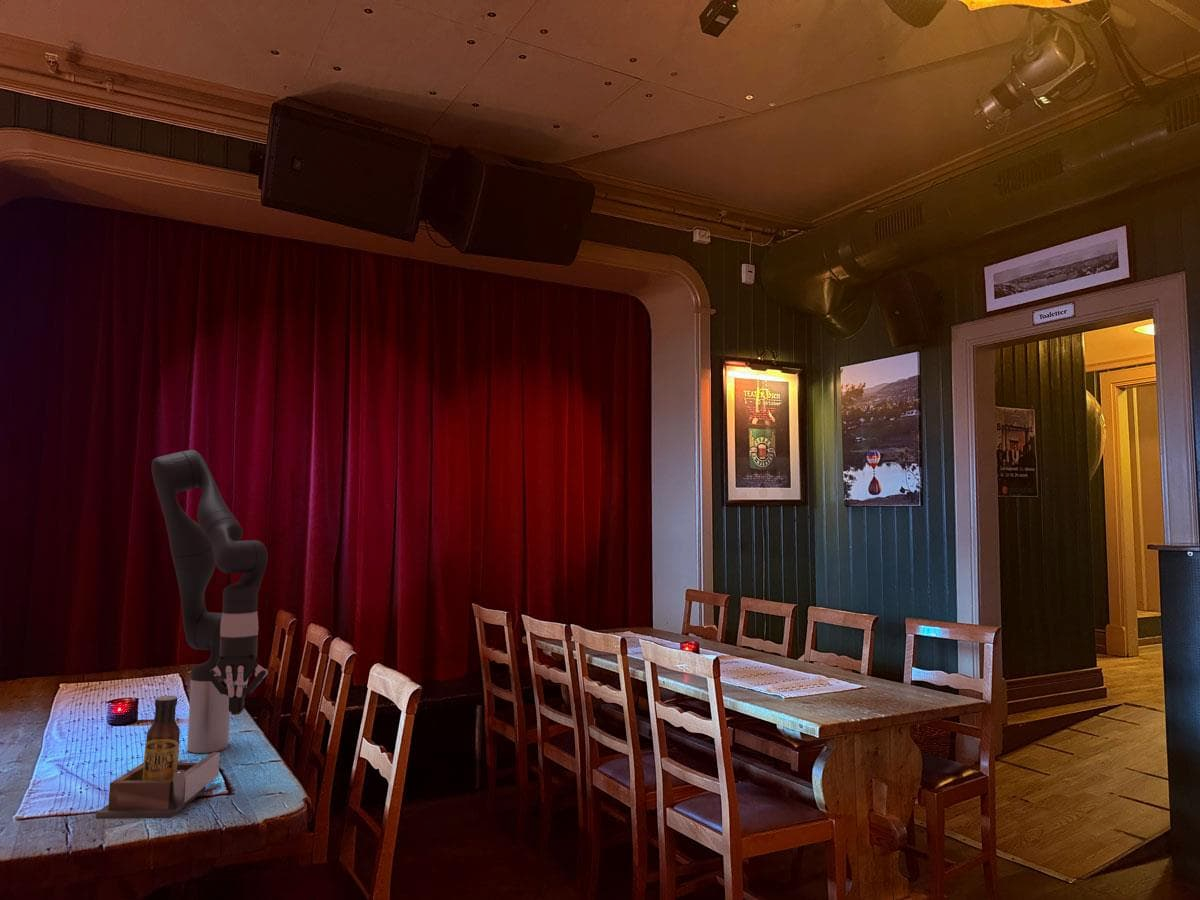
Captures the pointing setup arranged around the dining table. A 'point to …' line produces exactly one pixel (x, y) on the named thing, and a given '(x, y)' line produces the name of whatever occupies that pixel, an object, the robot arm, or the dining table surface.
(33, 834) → the dining table surface
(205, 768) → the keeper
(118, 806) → the cradle
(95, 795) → the dining table surface
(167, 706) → the sauce bottle
